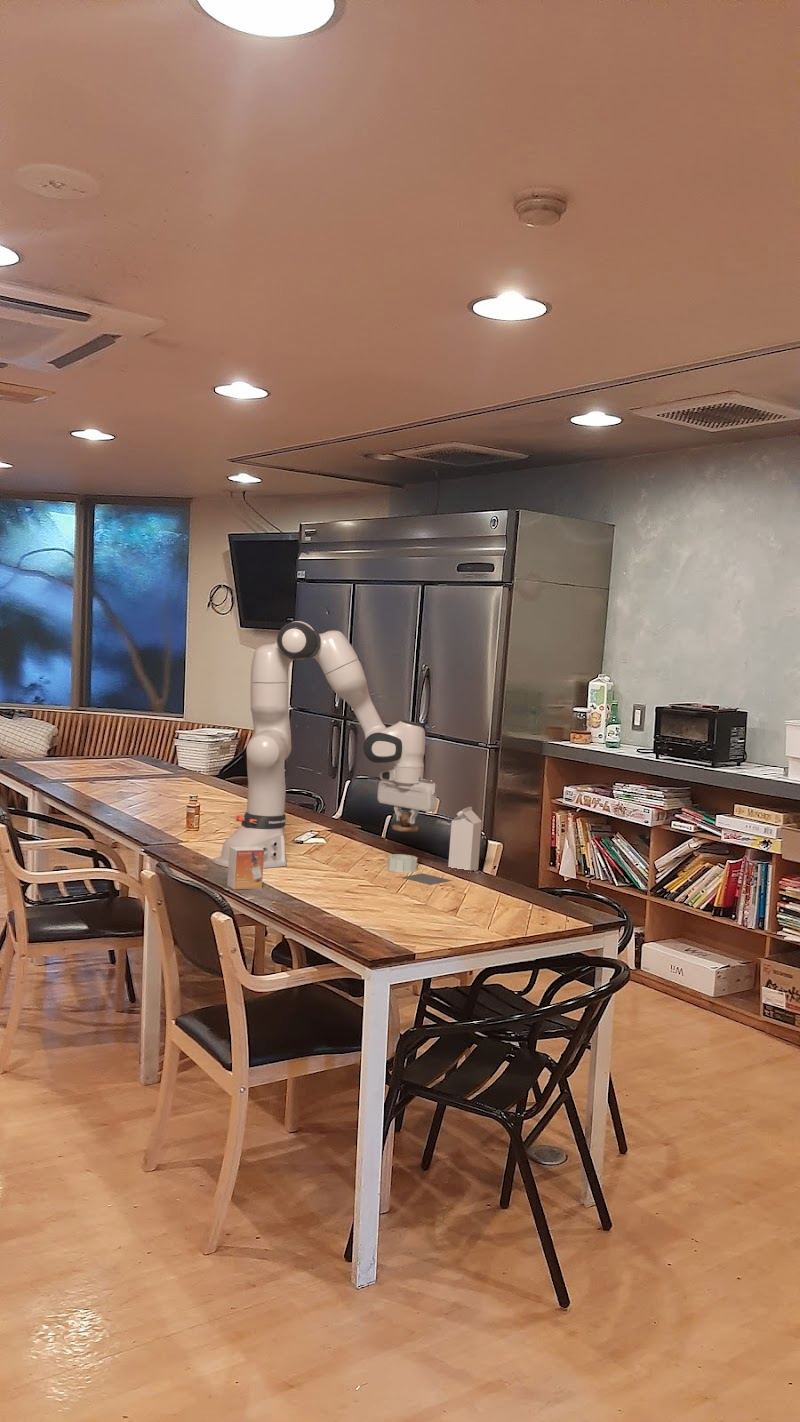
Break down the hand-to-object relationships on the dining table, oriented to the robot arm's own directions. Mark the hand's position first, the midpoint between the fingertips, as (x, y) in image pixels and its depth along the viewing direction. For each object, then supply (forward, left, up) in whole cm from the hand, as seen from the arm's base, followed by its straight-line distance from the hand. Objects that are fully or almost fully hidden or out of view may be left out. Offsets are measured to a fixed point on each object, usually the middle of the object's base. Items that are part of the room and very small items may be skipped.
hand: (405, 822), depth 322 cm
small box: (-53, +10, -15) cm, 56 cm away
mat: (-4, -12, -14) cm, 19 cm away
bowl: (0, 0, -14) cm, 14 cm away
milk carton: (+17, -10, -15) cm, 24 cm away
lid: (0, 0, -2) cm, 2 cm away
